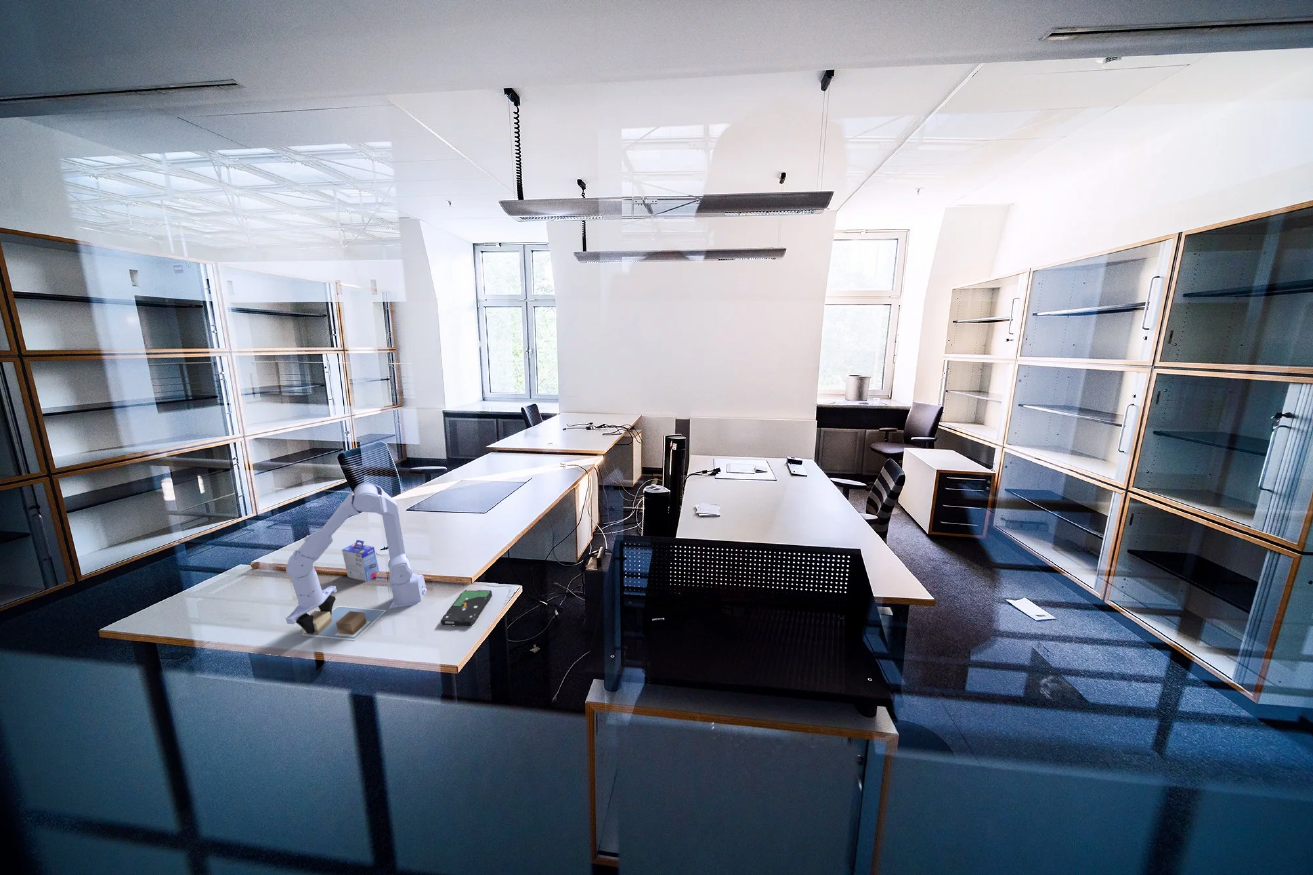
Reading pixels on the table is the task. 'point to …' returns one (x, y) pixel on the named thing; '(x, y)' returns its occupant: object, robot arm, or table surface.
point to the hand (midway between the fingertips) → (319, 625)
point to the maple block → (320, 621)
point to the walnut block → (351, 622)
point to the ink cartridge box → (360, 561)
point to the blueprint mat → (341, 611)
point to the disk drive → (467, 608)
